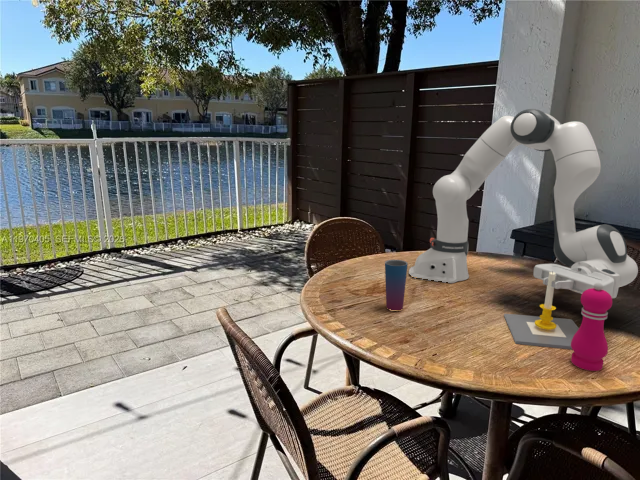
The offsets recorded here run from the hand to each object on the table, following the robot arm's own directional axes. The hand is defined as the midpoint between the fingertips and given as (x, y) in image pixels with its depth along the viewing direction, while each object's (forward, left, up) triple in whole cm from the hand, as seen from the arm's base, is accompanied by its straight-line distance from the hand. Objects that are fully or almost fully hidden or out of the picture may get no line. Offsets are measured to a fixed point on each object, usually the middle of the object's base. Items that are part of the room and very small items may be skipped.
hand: (549, 283), depth 111 cm
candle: (+1, +1, -12) cm, 12 cm away
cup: (-40, +8, -14) cm, 44 cm away
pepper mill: (+6, -15, -14) cm, 22 cm away
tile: (+1, +1, -14) cm, 14 cm away
